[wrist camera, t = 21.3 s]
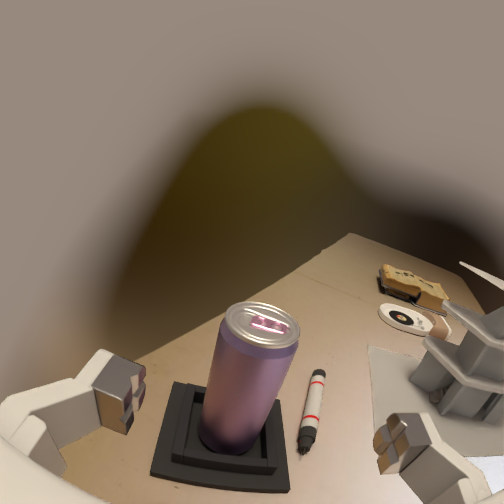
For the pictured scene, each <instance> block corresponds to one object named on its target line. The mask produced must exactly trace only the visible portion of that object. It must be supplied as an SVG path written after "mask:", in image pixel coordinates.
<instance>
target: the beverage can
mask: <svg viewBox="0 0 504 504" xmlns="http://www.w3.org/2000/svg"><path fill="white" fill-rule="evenodd" d="M299 336H300V327H299V325H298V323H297V321H296V320H295V319H294V318H293V317H292V316H291V315H289V314H288V313H286V312H285V311H283V310H281V309H279V308H277V307H274V306H272V305H268V304H265V303H260V302H240V303H237V304H234V305H232V306H231V307H229V308H228V309H227V311H226V314H225V317H224V319H223V320H222V322H221V324H220V328H219V333H218V337H217V342H216V346H215V351H214V355H213V360H212V365H211V369H210V374H209V379H208V383H207V388H206V393H205V397H204V402H203V407H202V412H201V416H200V421H199V426H198V432H199V436H200V438H201V440H202V441H203V442H204V443H205V445H207V446H208V447H209V448H210V449H212V450H213V451H215V452H218V453H221V454H226V455H236V454H241V453H244V452H246V451H247V450H249V449H250V448H251V447H252V446H253V445H254V443H255V441H256V439H257V437H258V435H259V433H260V431H261V429H262V427H263V425H264V423H265V421H266V418H267V416H268V414H269V412H270V410H271V408H272V406H273V403H274V401H275V399H276V397H277V395H278V392H279V390H280V388H281V386H282V383H283V381H284V379H285V376H286V374H287V372H288V369H289V367H290V365H291V362H292V360H293V357H294V355H295V353H296V350H297V348H298V338H299Z"/></svg>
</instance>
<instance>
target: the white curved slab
mask: <svg viewBox="0 0 504 504" xmlns="http://www.w3.org/2000/svg"><path fill="white" fill-rule="evenodd" d="M378 314H379V316H380V317H381V318H382V320H384V321H385V322H386V323H387V324H389V325H391V326H393V327H395V328H397V329H400V330H403V331H406V332H409V333H413V334H416V335H420V336H426V335H430V336H433V337H436V338H438V339H441V340H445V341H447V340H448V339H449V337H450V335H451V329H450V327H449V326H448V324H447V322H446V321H445V319H444V318H443V317H442V316H439V315H436V314H433V313H430V312H427V311H425V312H423V314H422V315H421V314H420V313H418V312H415V311H413V310H410V309H407V308H404V307H400V306H397V305H394V304H382V305H381V306H380V308H379V310H378Z"/></svg>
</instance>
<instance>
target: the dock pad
mask: <svg viewBox="0 0 504 504" xmlns="http://www.w3.org/2000/svg"><path fill="white" fill-rule="evenodd" d="M206 388H207V387H202V386H197V385H193V384H188V383H187V384H183V383H179V382H175V381H174V383H173V386H172V390H171V393H170V397H169V401H168V404H167V408H166V411H165V415H164V419H163V423H162V426H161V430H160V434H159V438H158V442H157V445H156V449H155V453H154V457H153V461H152V465H151V469H150V475H151V476H155V477H159V478H163V479H167V480H172V481H176V482H181V483H186V484H192V485H197V486H203V487H210V488H217V489H225V490H235V491H246V492H263V493H288V492H289V490H290V482H289V473H288V465H287V456H286V448H285V439H284V431H283V423H282V414H281V406H280V400H278V399H275V401H274V403H273V406H272V408H271V410H270V412H269V414H268V416H267V418H266V421H265V423H264V425H263V427H262V429H261V431H260V433H259V435H258V437H257V439H256V441H255V443H254V445H253V446H252V447H251V448H250V449H249V450H247V451H246V452H244V453H241V454H236V455H226V454H221V453H218V452H215V451H213V450H212V449H210V448H209V447H208V446H207V445H205V443H204V442H203V441H202V440H201V438H200V436H199V432H198V426H199V421H200V416H201V412H202V407H203V402H204V397H205V393H206Z"/></svg>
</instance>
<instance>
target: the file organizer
mask: <svg viewBox="0 0 504 504" xmlns="http://www.w3.org/2000/svg"><path fill="white" fill-rule="evenodd" d="M459 263H460V264H462V265H463V266H465V267H467V268H468V269H470V270H472V271H474V272H475V273H477V274H479V275H480V276H482V277H483V278H485V279H487V280H488V281H490V282H491V283H493V284H495V285H496V286H498V287H499V288H501V289H503V290H504V281H502V280H500V279H498V278H496V277H494V276H491V275H489V274H487V273H485V272H483V271H481V270H479V269H476V268H474V267H472V266H469V265H467V264H465V263H463V262H459ZM441 308H442V309H443V310H445V311H446V312H447V313H448V314H450V315H451V316H452V317H454V318H455V319H456V320H457V321H459V322H460V323H461V324H462V325H464V326H465V327H466V328H467V329H468V331H467V333H466V335H465V337H464V339H463V340H462V342H461V344H460V346H458V345H455V344H452V343H450V342H447V341H444V340H441V339H438V338H436V337H433V336H430V335H426V337H425V338H424V340H423V342H422V345H423V346H424V347H425V348H426V349H427V350H428V351H427V352H426V354H425V356H424V357H423V359H419V358H415V357H411V356H407V355H403V354H400V353H396V352H393V351H389V350H385V349H382V348H378V347H375V346H371V345H368V344H367V347H368V355H369V364H370V374H371V385H372V397H373V412H374V434H375V433H376V432H377V430H378V429H379V428H380V427H381V426H383V425H385V424H386V419H387V418H388V417H389V415H391V414H392V413H411V412H414V413H416V412H427V413H428V414H429V415H430V417H431V419H432V421H433V423H434V425H435V427H436V429H437V431H438V433H439V435H440V438H441V440H442V442H443V443H447V444H448V445H449V446H451V447H452V448H453V449H454V450H456V451H457V452H458V453H459V454H461V455H462V456H463V457H481V456H499V455H504V306H503V307H501V308H499V309H497V310H495V311H493V312H491V313H490V314H488V315H486V316H485V315H483V314H480V313H478V312H475V311H473V310H470V309H468V308H465V307H463V306H460V305H458V304H455V303H453V302H450V301H448V300H444V301H443V302H442V305H441Z"/></svg>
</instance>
